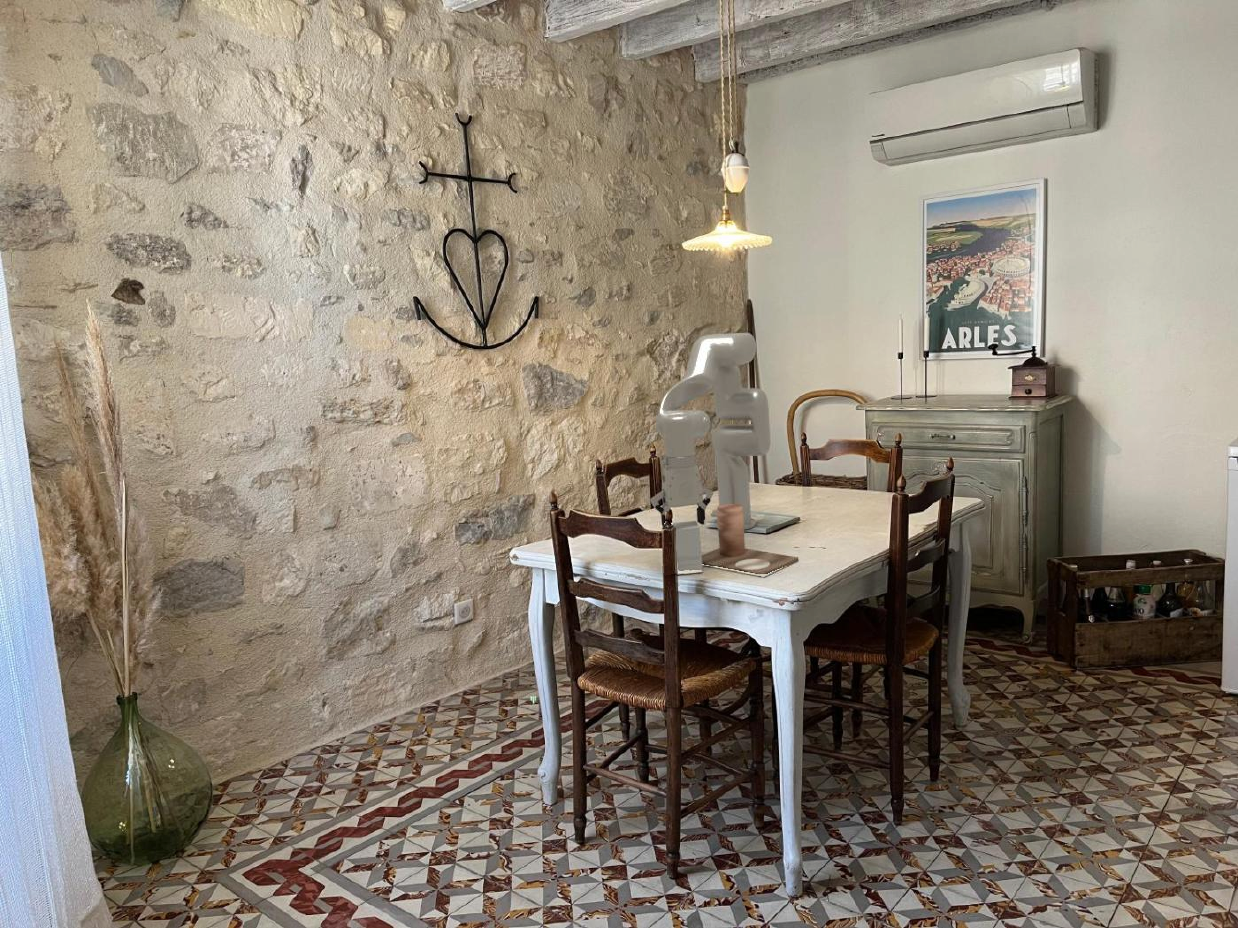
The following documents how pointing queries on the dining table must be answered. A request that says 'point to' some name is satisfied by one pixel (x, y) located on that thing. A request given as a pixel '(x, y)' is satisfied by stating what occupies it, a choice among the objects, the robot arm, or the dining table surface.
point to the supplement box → (688, 546)
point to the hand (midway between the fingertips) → (683, 525)
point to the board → (748, 555)
